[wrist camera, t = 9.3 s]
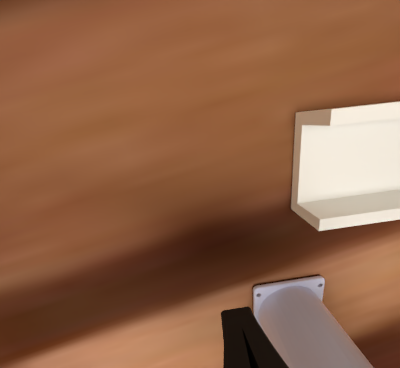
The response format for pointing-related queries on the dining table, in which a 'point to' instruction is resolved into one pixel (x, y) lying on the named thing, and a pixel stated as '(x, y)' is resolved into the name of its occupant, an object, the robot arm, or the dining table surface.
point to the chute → (347, 165)
